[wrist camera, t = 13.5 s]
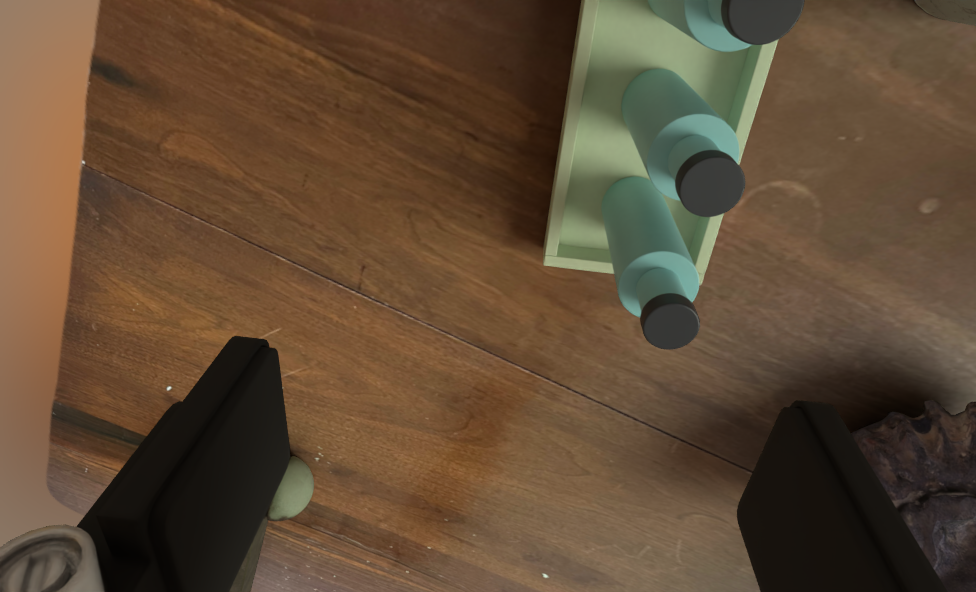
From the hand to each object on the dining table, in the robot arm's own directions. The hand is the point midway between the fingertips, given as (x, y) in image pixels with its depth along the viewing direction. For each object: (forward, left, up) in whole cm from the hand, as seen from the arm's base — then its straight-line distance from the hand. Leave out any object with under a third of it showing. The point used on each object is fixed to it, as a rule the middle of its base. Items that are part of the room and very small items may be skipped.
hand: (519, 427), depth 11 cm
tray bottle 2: (0, +7, -29) cm, 30 cm away
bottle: (+6, +7, -29) cm, 31 cm away
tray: (0, +7, -30) cm, 31 cm away
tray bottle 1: (-7, +7, -29) cm, 31 cm away
